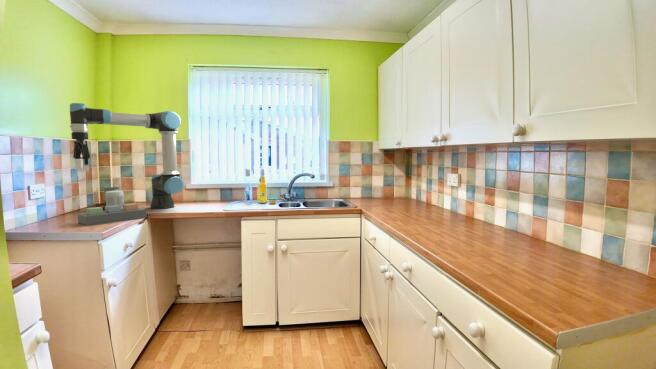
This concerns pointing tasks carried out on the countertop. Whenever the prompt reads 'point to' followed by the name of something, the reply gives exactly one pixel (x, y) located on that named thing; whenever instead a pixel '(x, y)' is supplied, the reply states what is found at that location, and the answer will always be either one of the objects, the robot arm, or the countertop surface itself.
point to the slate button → (112, 208)
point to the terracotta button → (130, 206)
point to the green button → (94, 210)
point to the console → (111, 217)
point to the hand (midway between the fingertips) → (82, 170)
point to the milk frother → (104, 194)
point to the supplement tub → (114, 198)
